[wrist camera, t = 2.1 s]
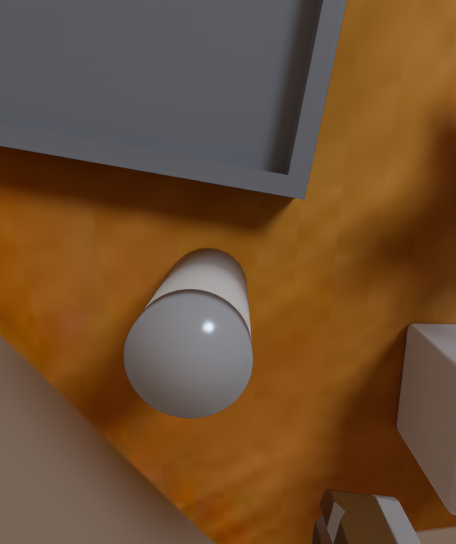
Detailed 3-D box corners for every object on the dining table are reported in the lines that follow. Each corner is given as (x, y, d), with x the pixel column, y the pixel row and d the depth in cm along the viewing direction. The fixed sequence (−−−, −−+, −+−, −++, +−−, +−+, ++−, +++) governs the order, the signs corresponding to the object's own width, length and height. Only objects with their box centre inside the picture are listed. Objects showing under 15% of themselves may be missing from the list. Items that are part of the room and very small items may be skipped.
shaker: (253, 255, 24) (264, 310, 14) (239, 329, 25) (240, 427, 16) (174, 241, 24) (131, 287, 14) (163, 316, 25) (116, 407, 15)
